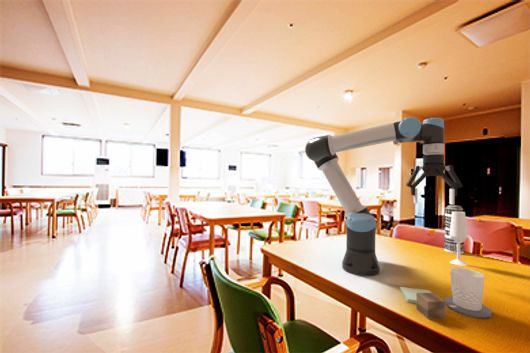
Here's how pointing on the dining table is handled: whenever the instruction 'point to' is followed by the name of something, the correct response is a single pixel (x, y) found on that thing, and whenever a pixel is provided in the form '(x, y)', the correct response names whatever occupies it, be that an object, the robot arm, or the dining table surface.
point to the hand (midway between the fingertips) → (433, 203)
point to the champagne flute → (458, 233)
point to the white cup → (467, 288)
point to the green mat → (412, 293)
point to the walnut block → (431, 306)
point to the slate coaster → (476, 314)
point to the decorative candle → (449, 242)
